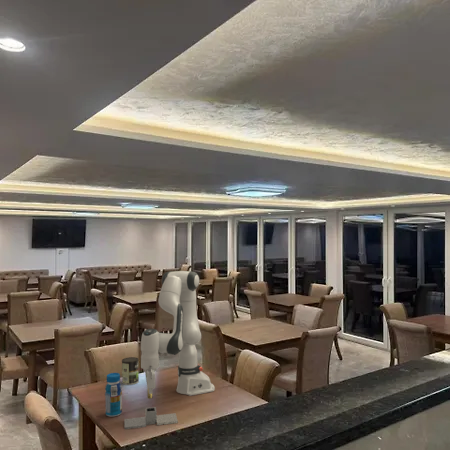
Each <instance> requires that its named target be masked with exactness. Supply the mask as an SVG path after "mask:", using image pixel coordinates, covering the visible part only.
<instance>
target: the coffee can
mask: <svg viewBox="0 0 450 450" xmlns="http://www.w3.org/2000/svg"><path fill="white" fill-rule="evenodd" d="M139 380H140V378H139V357H134V356H130V357H125V358H123V359H121V381H122V382H121V383H122V385H125V386H126V385H127V386H129V385H130V386H131V385H135V384H138V383H140V381H139Z"/></svg>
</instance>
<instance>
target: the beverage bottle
mask: <svg viewBox="0 0 450 450" xmlns="http://www.w3.org/2000/svg"><path fill="white" fill-rule="evenodd" d="M120 381H121V374H120V373H118V372H111V373H108V374H107V375H106V382H107V384H106V385H105V388H104V390H105V393H104V397H105V401H104V402H105V416H107V417H112V418H113V417H118V416H120V415H121V414H122V413H123V401H122V400H123V397H122V395H123V390H122V388H123V387H122V384H121V382H120Z"/></svg>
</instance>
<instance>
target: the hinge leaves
mask: <svg viewBox="0 0 450 450" xmlns="http://www.w3.org/2000/svg"><path fill="white" fill-rule="evenodd" d="M144 413H145V416H141V417H133V418H124V430H131V429H139V428H140V429H141V428H147V426H150V425H156V426H164V425H171V424H178V423H179V421H178V418H177V413H175V412H174V413H173V412H172V413H167V414H159V415H158V414H157V413H158V412H157V407H156V406H153V407H146V408H144ZM156 423H157V424H156ZM163 424H164V425H163Z"/></svg>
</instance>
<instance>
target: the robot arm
mask: <svg viewBox="0 0 450 450" xmlns="http://www.w3.org/2000/svg"><path fill="white" fill-rule="evenodd" d="M161 285H162V286H161V289H160V292H159V295H158V305H159V307H160V308H161V309H162V310H163V311H165V312H166V313H168V314H170V315H172V316H173V326H172V327H173V329H172V330H173V331H172V333H165V332H160V331H158V329H156V328H148V329H145V330H143V332H142V334H141V339H140V351H141V355H140V368H141V369H143V372H144V374H145V379H146V380H145V381H146V386H147V387H146V388H148V389H149V394H152V395H153V390H154V389H155V388H156V371H157V370H158V369H159V367H160V354H159V353H161V354H169V355H174V356H176V355H178V366H177V375H178V377H177V378H178V380H177V386H176V392H177V393H178V394H181V395H187V396H189V397H191V396H196V395H200V394H201V395H202V394H207V393H213V392H214V391H215V390H216V388H215V385H214V384H213V383H212V382H211V378H210V377H209V376H208V375H207V374H206V373H205V372H203V370H204V368H203V367H202V366H201V365H200V364H199V363H198V350H197V348H196V345H197V344H199V343H200V341H201V339H202V332H201V329H200V324H199V318H198V313H197V292H196V289H197V288H198V287H199V285H200V276H199V274H198V273H197V272H195V271H187V270H179V271H178V270H177V271H170V270H169V271H167V272H164V274H163V275H162V277H161Z"/></svg>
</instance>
